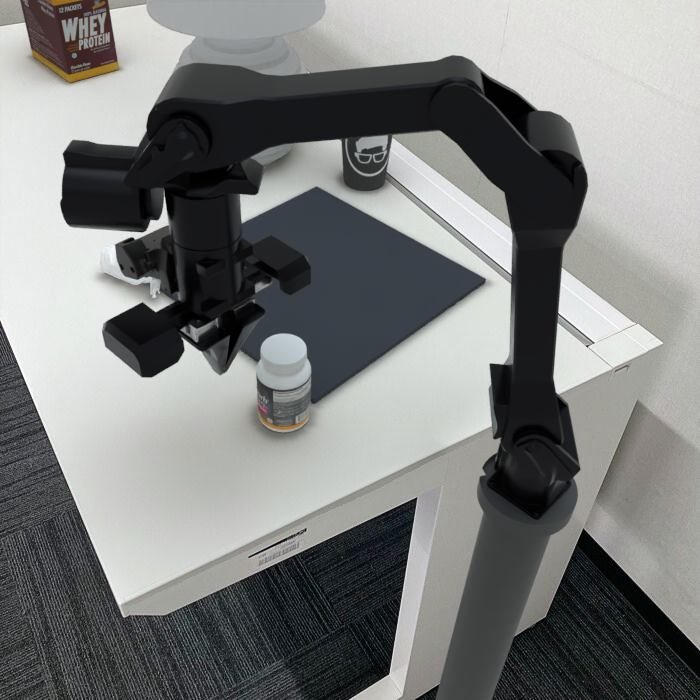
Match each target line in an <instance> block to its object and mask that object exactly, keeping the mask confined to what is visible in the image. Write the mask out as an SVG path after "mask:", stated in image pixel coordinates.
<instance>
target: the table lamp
mask: <svg viewBox="0 0 700 700" xmlns="http://www.w3.org/2000/svg"><path fill="white" fill-rule="evenodd" d="M145 5H146V11H147V14H148V16H149V17H150V18H151V20H152V21H154V22H155V23H157V24H158V25H160V26H161V27H163V28H166V29H167V30H170V31H173V32H176V33H178V34H182V35H186V36H191V37H194V39H193V40H192V41H191V43H189V44H187V46H186V47H185V48H183V49H182V52H181V54H180V56H179V58H178V62H177V63H176V64H175V66H174V69H173V71H172V74H173V73H174V72H175V70H177V69H178V68H180V67H181V66H184V65H188V64H191V63H208V64H221V65H235V66H241V67H244V68H247V69H250V70H253V71H256V72H259V73H262V74H266V75H279V76H285V75H295V74H305V73H309V71H308V69H307V67H306V65H305V63H303V61H302V60H301V57H300V55H299V53H298V51H297V50H296V48H295V47H294V46H293V45H291V44H290V43H288V42H287V41H286V40H285V38H283V37H284V36H288V35H291V34H294V33H295V34H296V33H298V32H301V31H304V30H306V29H308V28H310V27H312V26H314V25H316V24H317V23H318V22H320V20H322V18H323V17H324V16H325V14H326V9H327V7H326V0H146V4H145ZM295 144H296V143H293V144H284V145H280V146H276V147H272V148H269V149H266V150H264V151H262V152H260V153H258V154H256V155H254V156H252V157H250V158H252V159H254V160H256V161H257V162H259V163H260V164H261V165H263V166H264V167H266V166H268V165H270V164H272V163H274V162H276V161H277V160H279V159H281V158H283V157H284V156H285V155H287V154H288V153H289V152H290V151H291V150H292V149H293V148H294V146H295Z"/></svg>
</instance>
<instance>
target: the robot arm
mask: <svg viewBox="0 0 700 700" xmlns="http://www.w3.org/2000/svg"><path fill="white" fill-rule="evenodd" d="M145 129H146V131H145V133H144V134H143V137H142V138H141V140H140V142H139V144H138V145H136V146H135V145H120V144H109V143H108V144H104V143H97V142H94V141H90V140H85V139H83V140H82V139H72V140H70V142H69V143H68V145H67V146H66V147H65V149H64V150H63V151H62V158H63V162H64V169H63V174H62V177H61V178H62V179H61V180H62V181H61V199H60V201H59V205H60V210H61V214H62V218H63V220H64V221H65V224H66V225H67V226H68V227H69V228H73V229H86V230H98V231H99V230H101V231H113V232H114V231H116V232H128V233H145V232H147V230H148V229H149V226H150V224H151V221H155V222H157V221H159V220H160V219H161V217H162V214H163V211H164V210H163V209H164V203H165V207H166V213H167V214H166V215H167V223H168V225H165V226H162V227H160V228H158V229H156V230H153V231H151V232H149V233H147V234H144V235H143V236H140V237H138V238H136V239H135V237H133V236H130V237H128V238H125V239H123V240H121V241H119V242H117V243H114V244H115V250H116V258H117V262H118V265H119V267H120V270H121V272H122V273H123V275H124V276H125V277H128V278H132V279H135V280H139V279H141V278H143V277H145V278H147V277H152V278H156V279H160V281H161V287H162V289H163V290H164V291H165V292H167V293H168V294H169V295H172V294H173V293H176V294H177V295H178V298H179V300H177V301H175V300H174V301H173V302H171V303H169V304H168V305H166V306H164V307H163V308H162V307H161V308H160V309H159V310H157V311H155V310H154V309H152V308H151V307H150V306H149V305H147V304H146V303H145V302H142V301H141V302H140V303H138V304H136V305H134V306H132V307H131V308H129V309H127V310H125V311H122V312H121V313H119V314H117V315H115V316H113V317H110V318H109V319H107V320H106V321H105V322H104V323H103V324H102V329H101V333H102V339H103V344H104V347H105V348H106V349H108V351H110V352H111V353H112V354H113V355H114V356H115V357H117V358H118V359H119V360H120V361H121V362H122V363H124V364H125V365H127V367H129V368H130V369H131V370H132V371H134V372H135V373H136V374H137V375H138V376H139V377H140V378H142V379H143V378H148V379H151V378H154V377H156V376H157V375H159V374H160V373H162V372H164V371H166V370H167V369H169V368H171V367H173V366H174V365H176V364H178V363H179V362H180V359H182V356H183V354H184V353H185V351H186V350H185V343H184V341H186V342H187V343H188V344H189V345H190V346H191V347H193V348H194V349H195V350H197V351H199V352H201V353H202V356H203V357H204V359H205V360H206V362H207V363H208V364H209V366H210V368H211V369H212V371H213V372H215V373H216V374H217V375H218V376H222V375H224V374H225V373H227V372H228V370H229V369H230V367H231V365H232V364H233V362H234V360H235V358H237V355H238V353H239V352H240V350H241V349H240V348H241V347H242V345H243V344H244V342H245V340H246V339H247V337H248V336H249V334H250V333H251V332H252V330H253V329H254V327H255V326H256V324H257V323H258V321H259V320H260V319H262V318H263V317H264V316H265V309H264V308H262V307H261V306H259V305H258V304H257V303H255V298H254V297H253V295H255V294H256V292H258V291H260V290H262V289H263V288H265V287H267V286H269V285H270V284H272V279H271V278H275V279H276V280H278V281H279V288H280V290H281V291H282V292H284V293H286V294H288V295H290V296H291V295H293V294H294V293H296V292H298V291H299V290H301V289H303V288H305V287H306V286H308V285H310V284H311V263H310V262H309V260H308V258H307V256H305V255H303V254H302V253H300V252H299V251H297V250H295V249H294V248H292V247H290V246H289V245H287V244H285V243H284V242H282V241H281V240H279V239H277V238H276V237H274V236H272V235H270V236H268V237H266V238H264V239H262V240H260V241H259V242H257V243H255V244H251V243H250V242H248V241H247V240H245V239H244V238H242V223H243V222H242V206H241V195H243V196H244V195H245V196H257V195H258V194H259V192H260V190H261V189H260V188H261V185H262V181H263V178H264V175H265V171H266V168H265V166H263V165H261V164H260V163H259V162H257V161H256V160H254V159H252V158H250V157H252V156H254V155H256V154H258V153H260V152H262V151H264V150H266V149H269V148H272V147H276V146H280V145H284V144H293V143H295V144H303V143H314V142H325V141H326V142H327V141H338V140H341V139H351V138H363V137H375V136H386V135H393V136H396V135H410V134H420V133H431V132H432V133H433V132H441V133H442V134H444V135H445V136H446V137H447V138H449V139H450V140H451V141H452V142H454V143H455V144H456V145H457V146H458V147H459V148H460V149H461V150H462V152H463V153H464V154H465V155H466V156H467V157H468V158H469V160H470V161H471V162H472V163H473V164H474V165H475V166H476V167H477V168H478V170H479V171H480V172H481V173H482V174H483V176H484V177H485V178H486V180H488V181H489V182H490V183H491V184H493V185H494V186H495V187H496V188H498V189H499V190H500V191H502V192H503V193H504V199H505V205H506V210H507V215H508V220H509V225H510V230H511V269H510V271H511V272H510V273H511V274H510V275H511V276H510V312H509V313H510V314H509V316H510V317H509V319H510V320H509V352H508V357H507V358H506V359H505V361H504V363H491V362H490V363H489V365H488V367H489V375H490V377H489V378H490V385H489V387H488V397H489V398H488V399H489V400H488V401H489V409H490V410H489V411H490V421H491V422H490V423H491V429H492V430H491V431H492V439H493V440H495V441H496V440H498V439H499V441H500V442H499V443H498V448H497V452H496V453H497V456H496V460H495V464H494V470H496V472H495V473H494V474H493V475H492V476H491V477H490V478H489V479H488V480H487V486H488V487H489V488H490V489H492V490H493V491H495V492H496V493H498V494H499V495H500V496H502V497H503V498H505V499H506V500H508V501H509V502H510V503H512V504H513V505H515V506H516V507H517V508H519V509H520V510H522V511H523V512H525V513H526V514H527V515H529V516H530V517H532V518H533V519H535V520H539V519H541V518H542V516H543V515H544V514H545V513H546V512H547V511H548V510H549V509H550V508H551V507H552V506H553V505H554V504H555V503H556V502H557V501H558V500H559V499H560V497H561V496H562V495H563V494H564V493H565V492H566V491H567V490H568V489H569V488H570V486H571V481H570V480H571V479H572V478H574V477H576V476H577V474H579V473H580V472H581V470H582V469H581V463H580V458H579V453H578V449H577V442H576V438H575V437H576V436H575V432H574V425H573V423H572V416H571V411H570V405H569V403H568V402H567V401H566V400H565V399H564V398H563V397H562V396H561V395H560V394H559V393H558V392H557V390H556V385H555V377H554V375H555V363H556V348H557V338H558V337H557V334H558V323H559V310H560V299H561V298H560V296H561V284H562V283H561V282H562V270H563V259H564V258H563V257H564V249H565V246H566V244H567V243H568V241H569V239H570V238H571V236H572V234H573V233H574V231H575V230H576V228H577V227H578V224H579V221H580V220H579V219H580V217H581V213H582V210H583V206H584V203H585V200H586V197H587V193H588V190H589V189H588V188H589V181H588V180H589V179H588V173H587V169H586V166H585V162H584V160H583V157H582V154H581V150H580V146H579V143H578V140H577V137H576V134H575V130H574V128H573V125H572V124H571V122H569V121H568V120H567V119H566V118H565V117H563V116H562V115H561V114H558V113H556V112H554V111H551V110H539V109H538V108H536V107H535V106H534V105H533V104H532V103H531V102H530V101H529V100H528V99H526V98H525V97H524V96H522V95H521V94H520V93H519V92H518V91H516V90H515V89H513V88H512V87H510V86H508V85H506V84H504V83H502V82H501V81H499V80H497V79H496V78H493V77H491V76H490V75H488V74H487V73H486V72H485V71H484V70H482V69H481V68H480V67H479V66H478V65H477V64H476V63H475V62H474V61H473V60H472V59H469V57H465V56H463V55H456V54H452V55H448V56H445V57H442V58H440V59H437V60H429V61H419V62H408V63H399V64H398V63H397V64H389V65H378V66H367V67H357V68H348V69H337V70H327V71H326V70H325V71H316V72H308V73H305V74H295V75H285V76H279V75H266V74H262V73H259V72H256V71H253V70H250V69H247V68H244V67H241V66H235V65H221V64H208V63H191V64H188V65H184V66H181V67H180V68H178V69H177V70H175V72H174V73H173V72H172V74H171V75H170V76H169V78H168V80H167V81H166V82H165V85H164V86H163V88H162V90H161V92H160V93H159V95H158V97H157V99H156V100H155V102H154V104H153V106H152V108H151V109H150V111H149V113H148V115H147V120H146V124H145ZM164 201H165V202H164ZM244 266H245V267H247V268H245V269H244ZM490 482H492V483H493V484H491V483H490ZM566 483H567V484H566ZM535 514H538V515H535Z"/></svg>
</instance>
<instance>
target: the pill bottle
mask: <svg viewBox="0 0 700 700" xmlns="http://www.w3.org/2000/svg"><path fill="white" fill-rule="evenodd" d="M255 377H256V396H257V397H256V398H257V413H258V419H259V421H260V422H261V423H262V425H263V426H265V427H266V428H267V429H269V430H271V431H274V432H278V433H291V432H294V431H296V430H297V431H298V430H299V429H301V428H302V427H304V425H305V424H306V423H308V421H309V419H310V417H311V410H312V409H311V407H312V402H311V365H310V362H309V360H308V359H307V347H306V344H305V343H304V341H303V340H302V339H301V338H299V337H297V336H295V335H292V334H276V335H273V336H271V337H269V338H267V339H266V340H265V341H264V342H263V343H262V345H261V359H260V361H259V362H257V364H256V369H255Z"/></svg>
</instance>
